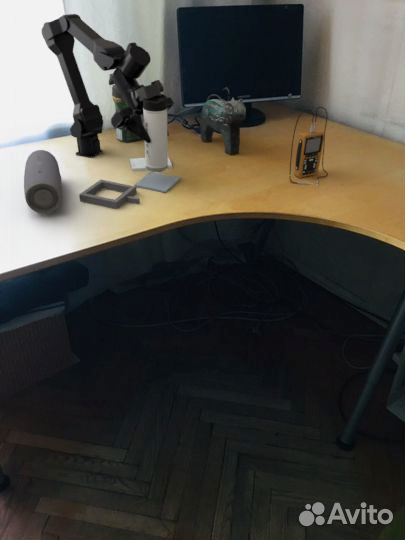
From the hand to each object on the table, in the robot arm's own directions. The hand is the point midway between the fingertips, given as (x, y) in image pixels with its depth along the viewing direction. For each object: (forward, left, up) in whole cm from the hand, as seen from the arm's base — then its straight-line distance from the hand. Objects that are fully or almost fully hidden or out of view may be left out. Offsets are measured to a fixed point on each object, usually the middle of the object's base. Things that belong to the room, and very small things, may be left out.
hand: (158, 139), depth 124 cm
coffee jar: (-27, +30, -13) cm, 43 cm away
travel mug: (-1, +1, -9) cm, 9 cm away
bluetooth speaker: (-24, -21, -14) cm, 34 cm away
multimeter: (+40, +22, -13) cm, 47 cm away
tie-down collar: (-7, -13, -13) cm, 20 cm away
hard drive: (-9, +12, -14) cm, 21 cm away
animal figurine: (+5, +35, -13) cm, 38 cm away
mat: (-1, 0, -13) cm, 13 cm away
